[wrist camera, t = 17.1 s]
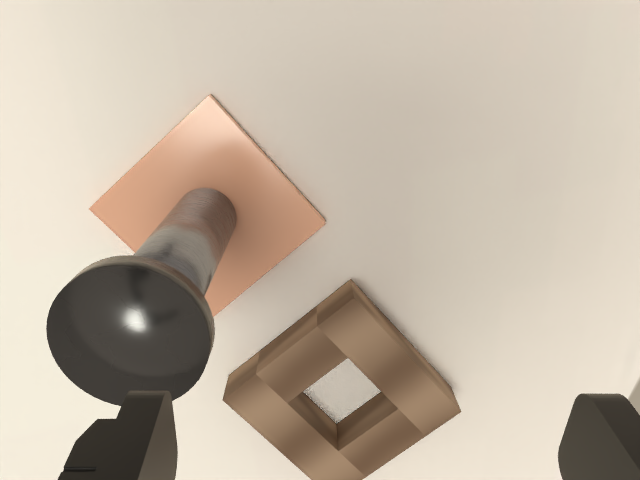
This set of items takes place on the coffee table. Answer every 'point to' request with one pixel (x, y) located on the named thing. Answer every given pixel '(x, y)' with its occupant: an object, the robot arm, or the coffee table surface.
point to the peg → (145, 307)
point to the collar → (317, 360)
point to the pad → (224, 176)
